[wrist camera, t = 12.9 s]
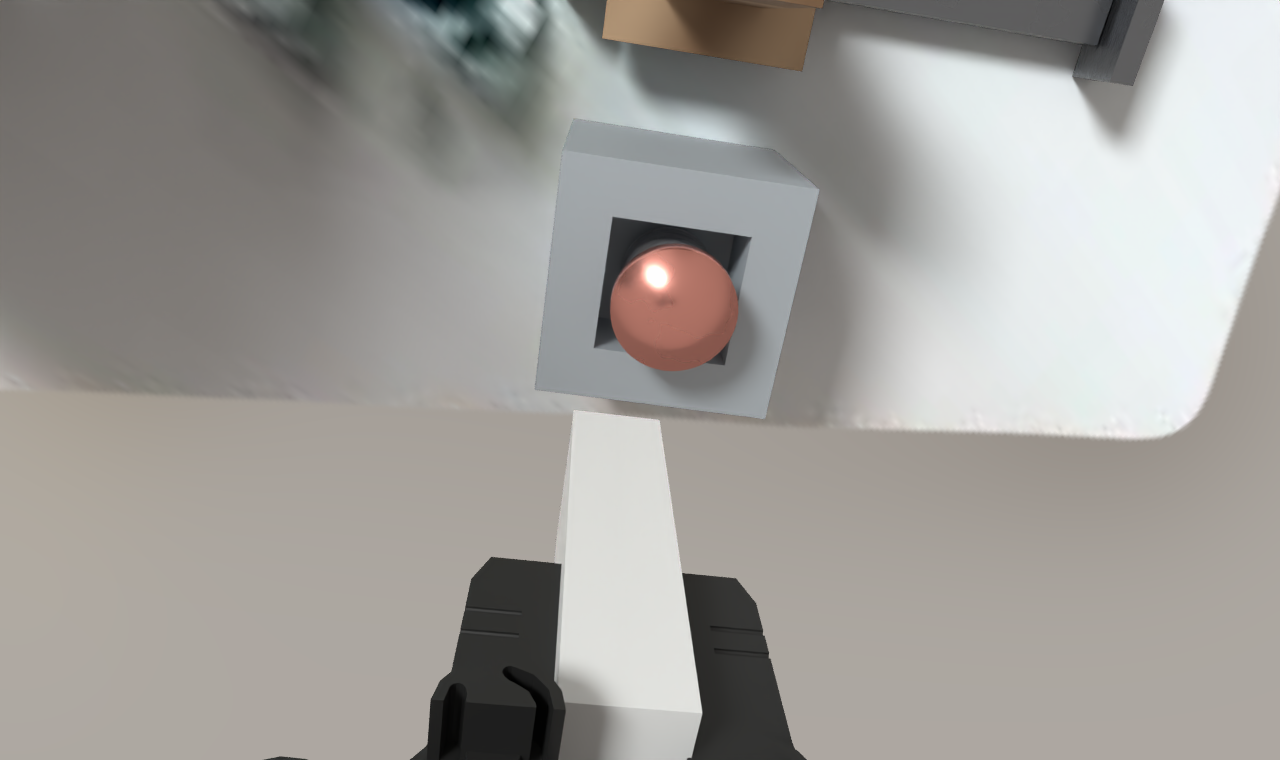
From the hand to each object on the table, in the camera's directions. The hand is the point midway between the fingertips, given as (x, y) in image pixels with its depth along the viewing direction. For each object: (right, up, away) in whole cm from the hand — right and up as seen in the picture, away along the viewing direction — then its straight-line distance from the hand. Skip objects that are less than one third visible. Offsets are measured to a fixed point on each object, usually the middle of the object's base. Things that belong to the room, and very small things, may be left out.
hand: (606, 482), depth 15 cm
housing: (+1, +9, +24) cm, 26 cm away
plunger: (+2, +6, +18) cm, 19 cm away
